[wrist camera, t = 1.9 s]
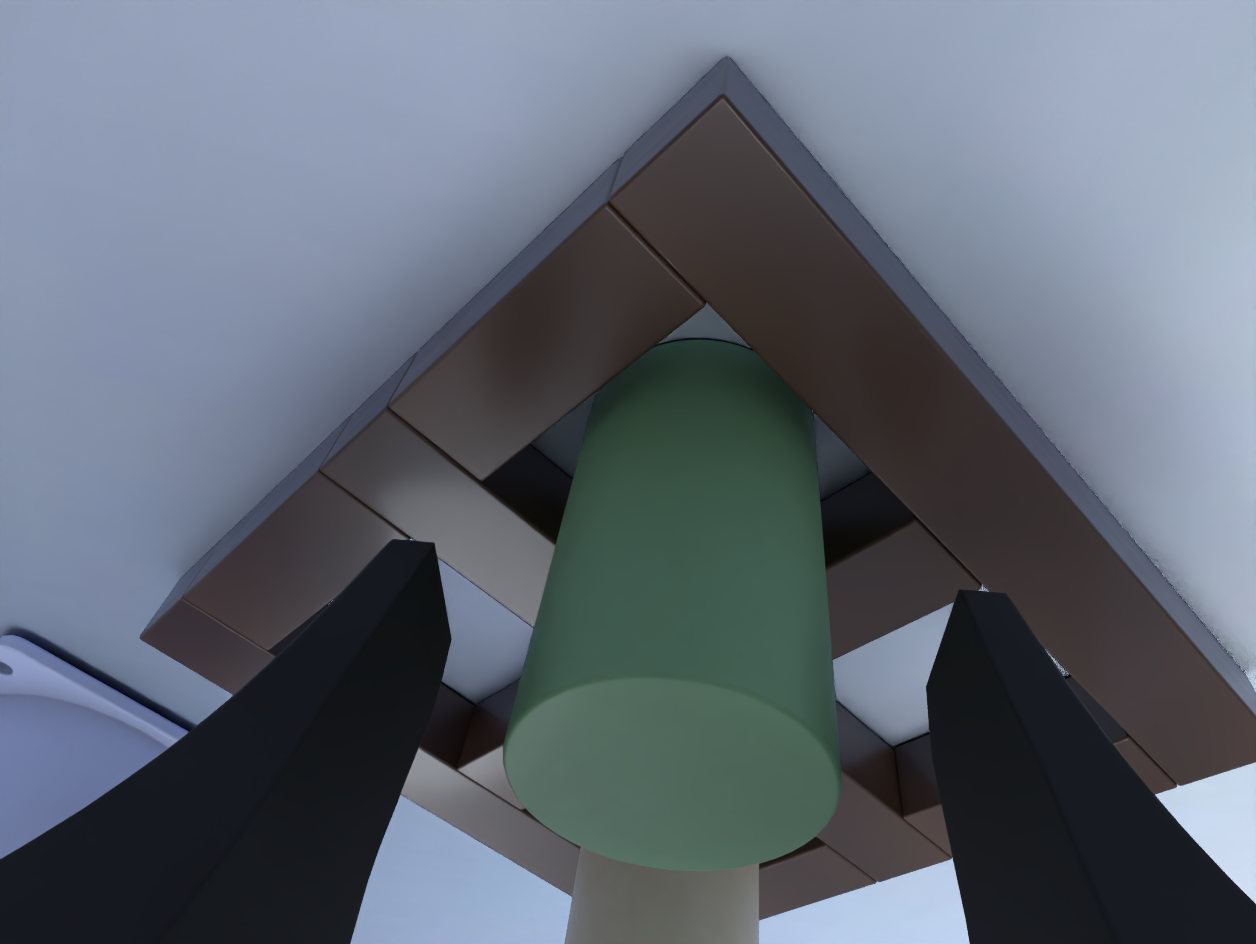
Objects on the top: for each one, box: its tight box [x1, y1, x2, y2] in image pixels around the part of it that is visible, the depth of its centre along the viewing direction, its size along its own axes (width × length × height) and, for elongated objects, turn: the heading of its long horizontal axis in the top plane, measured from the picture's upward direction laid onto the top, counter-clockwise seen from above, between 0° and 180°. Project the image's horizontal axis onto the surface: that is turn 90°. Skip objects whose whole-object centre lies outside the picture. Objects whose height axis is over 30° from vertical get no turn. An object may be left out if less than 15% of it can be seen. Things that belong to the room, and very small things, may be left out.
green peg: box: [503, 340, 842, 871], centre depth 13 cm, size 4×4×7 cm
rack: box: [140, 57, 1256, 920], centre depth 18 cm, size 16×16×2 cm
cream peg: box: [565, 847, 759, 944], centre depth 19 cm, size 4×4×7 cm
